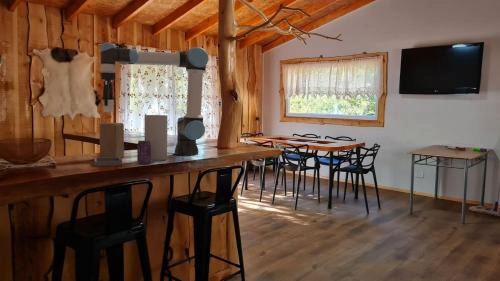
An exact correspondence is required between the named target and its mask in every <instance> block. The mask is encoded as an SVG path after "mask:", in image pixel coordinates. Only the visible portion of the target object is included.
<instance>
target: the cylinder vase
mask: <svg viewBox="0 0 500 281" xmlns="http://www.w3.org/2000/svg"><path fill="white" fill-rule="evenodd" d="M144 141H150V143H151V162H161V161H167V160H168V115H167V114H166V115H164V114H163V115H162V114H145V115H144Z"/></svg>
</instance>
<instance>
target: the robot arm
mask: <svg viewBox="0 0 500 281" xmlns="http://www.w3.org/2000/svg"><path fill="white" fill-rule="evenodd" d="M209 58H210V57H209V54H208V52H207V51H206V50H205V49H204V48H202V47H200V46H194V47H191V48H190V49H187V50H177V51H176V52H167V51H166V52H162V51H160V52H159V51H158V52H157V51H138V50H137V48H123V47H116V44H115V43H112V42H111V43H110V42H103V43H101V44H100V66H99V68H100V72H101V73H100V79H101V80H102V81H103V88H102V89H103V90H102V97H101V100H102V101H103V113H110V112H114V100H115V97H114V85H113V84H114V83H113V81H115V80H116V72H117V69H116V68H117V67H116V63H119V64H120V65H143V66H144V65H145V66H146V65H148V66H150V65H151V66H153V65H154V66H176V67H177V68H184V69H185V72H187V93H186V95H187V97H186V114H185V115H183V117H178V118H177V121H176V124H177V126H176V130H177V134H176V135H177V142H176V143H175V147H174V151H173V152H174V155H176V156H195V155H196V154H197V155H199V154H198V153H200V152H199V147H198V145H197V141H198V140H200V139H202V137H204V135H205V132H206V127H205V124H204V116H203V115H202V102H203V77H204V74H205V73H206V68H207V64H208V62H209Z"/></svg>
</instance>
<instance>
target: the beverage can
mask: <svg viewBox="0 0 500 281" xmlns="http://www.w3.org/2000/svg"><path fill="white" fill-rule="evenodd" d="M136 148H137V149H136V150H137V151H136V152H137V158H136V159H137V161H136V163H138V164H139V165H149V164H151V163H152V161H151V143H150V141H145V140H138V142H137V146H136Z"/></svg>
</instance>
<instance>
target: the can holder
mask: <svg viewBox="0 0 500 281" xmlns="http://www.w3.org/2000/svg"><path fill="white" fill-rule="evenodd" d="M93 163H94V167H95V168H97V167H120V166H121V167H122V166H123V159H122V158H120V157H111V158H100V157H94V162H93Z"/></svg>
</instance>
